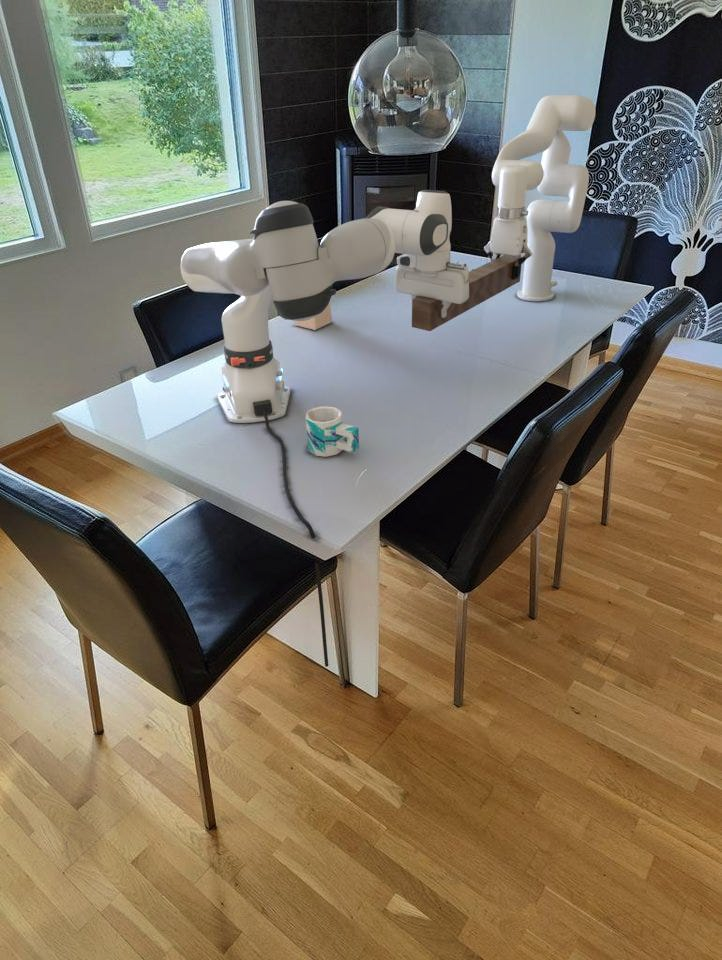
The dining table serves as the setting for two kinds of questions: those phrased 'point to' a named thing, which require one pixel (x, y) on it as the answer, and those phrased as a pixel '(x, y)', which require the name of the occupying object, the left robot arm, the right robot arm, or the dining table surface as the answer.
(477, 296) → the bar
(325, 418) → the mug
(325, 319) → the soap dispenser
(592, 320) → the dining table surface
